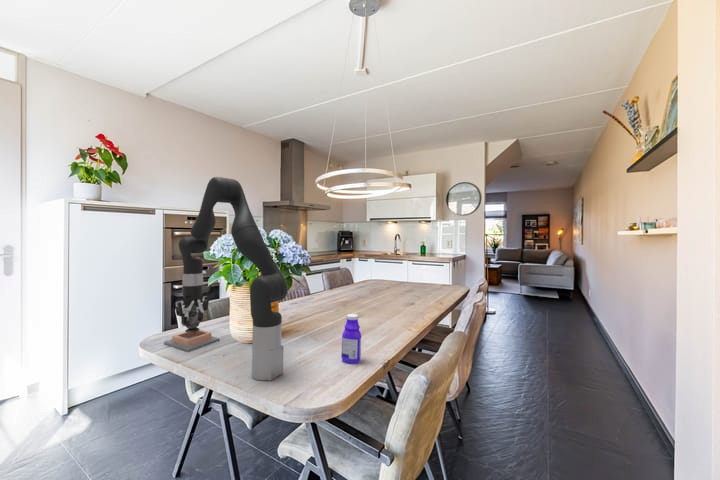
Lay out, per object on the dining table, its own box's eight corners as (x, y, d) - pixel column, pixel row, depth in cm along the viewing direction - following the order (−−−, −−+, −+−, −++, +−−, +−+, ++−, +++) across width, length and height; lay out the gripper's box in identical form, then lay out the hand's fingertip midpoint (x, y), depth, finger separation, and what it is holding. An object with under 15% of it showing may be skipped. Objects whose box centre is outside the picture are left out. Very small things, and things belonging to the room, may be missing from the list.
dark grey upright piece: (193, 333, 119) (193, 304, 119) (180, 331, 120) (181, 303, 120) (203, 328, 125) (203, 301, 124) (191, 327, 126) (192, 300, 126)
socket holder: (219, 340, 125) (219, 332, 125) (187, 352, 113) (188, 343, 113) (195, 334, 132) (196, 326, 132) (163, 344, 120) (163, 336, 120)
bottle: (362, 359, 110) (363, 314, 110) (358, 365, 105) (359, 318, 105) (344, 356, 113) (345, 312, 112) (339, 362, 107) (340, 316, 107)
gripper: (181, 287, 114) (181, 329, 114) (214, 282, 127) (213, 320, 127) (170, 285, 117) (169, 326, 118) (203, 280, 130) (202, 317, 130)
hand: (192, 323), depth 122 cm, fingers closed on dark grey upright piece, 6 cm apart
